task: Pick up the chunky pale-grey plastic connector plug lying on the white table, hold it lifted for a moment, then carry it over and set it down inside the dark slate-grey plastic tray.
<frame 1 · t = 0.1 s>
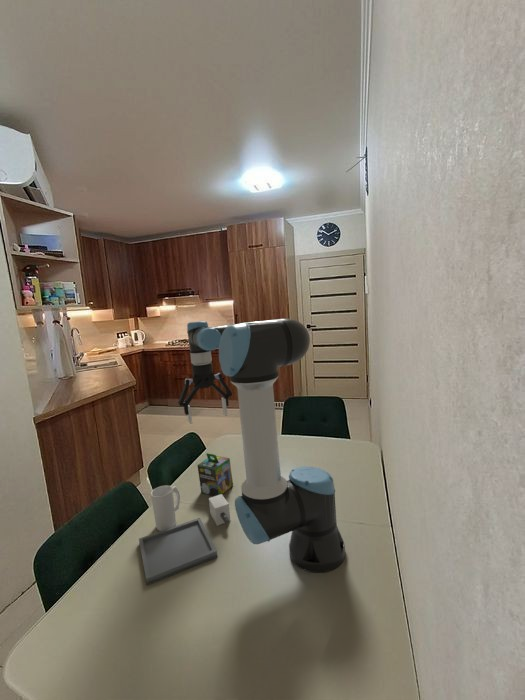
hand: (208, 418, 130), 28 cm above the table, fingers open, 13 cm apart
chalk box: (217, 489, 133), on the table
mug: (170, 522, 115), on the table
connector: (220, 517, 115), on the table
tray: (176, 550, 101), on the table
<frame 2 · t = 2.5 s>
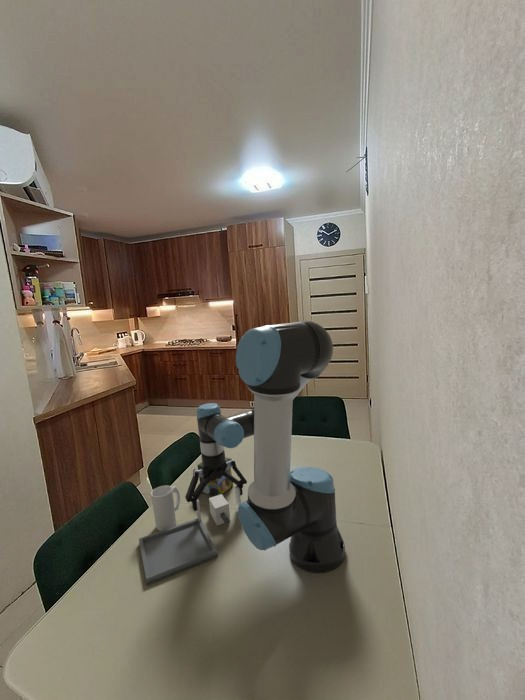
hand: (219, 511, 115), 2 cm above the table, fingers open, 13 cm apart
nothing on the table moved.
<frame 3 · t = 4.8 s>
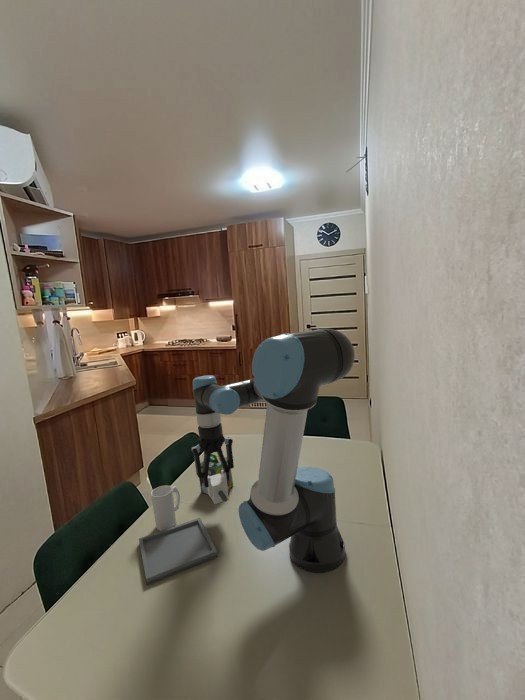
hand: (218, 492, 113), 9 cm above the table, fingers closed on connector, 5 cm apart
connector: (218, 496, 114), point 7 cm above the table, touching gripper
everything else where it was.
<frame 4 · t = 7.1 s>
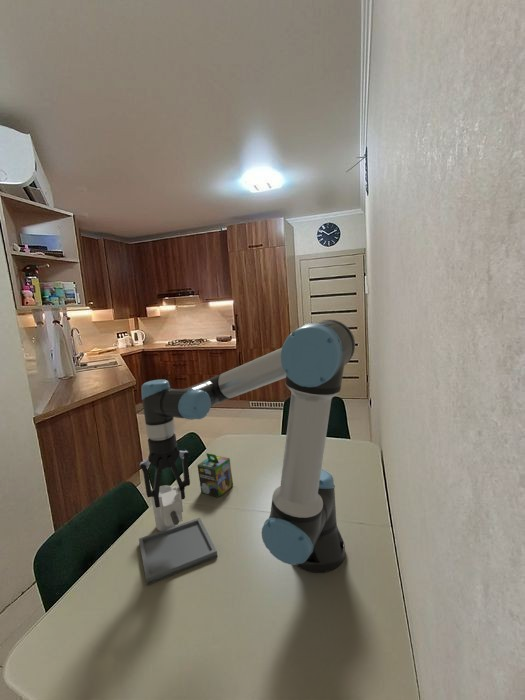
hand: (171, 512, 99), 12 cm above the table, fingers closed on connector, 5 cm apart
connector: (172, 516, 100), point 10 cm above the table, touching gripper
everything else where it was.
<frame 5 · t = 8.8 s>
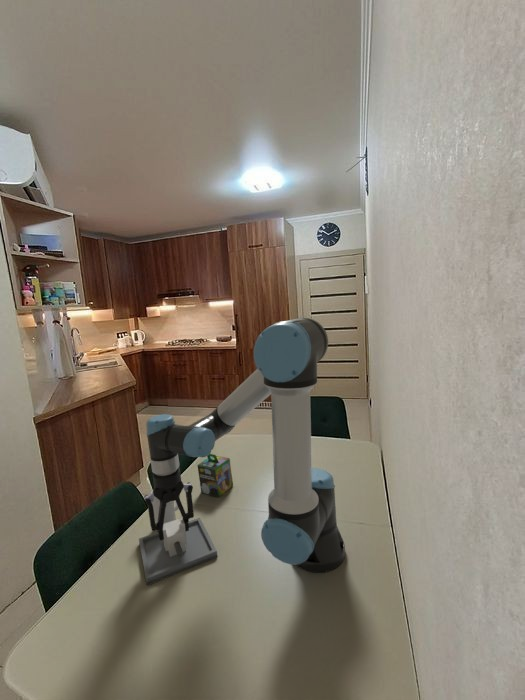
hand: (175, 544, 101), 2 cm above the table, fingers closed on connector, 5 cm apart
connector: (175, 546, 101), point 1 cm above the table, touching gripper, tray
everything else where it was.
when the fingers open (1 cm above the table, at t = 9.6 s): connector stays where it is, resting on tray.
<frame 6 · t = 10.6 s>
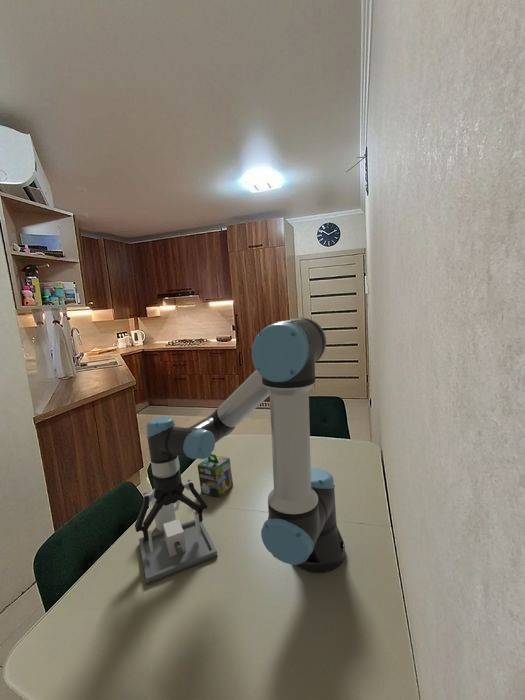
hand: (175, 540, 101), 3 cm above the table, fingers open, 13 cm apart
connector: (175, 546, 101), point 1 cm above the table, touching tray
everything else where it was.
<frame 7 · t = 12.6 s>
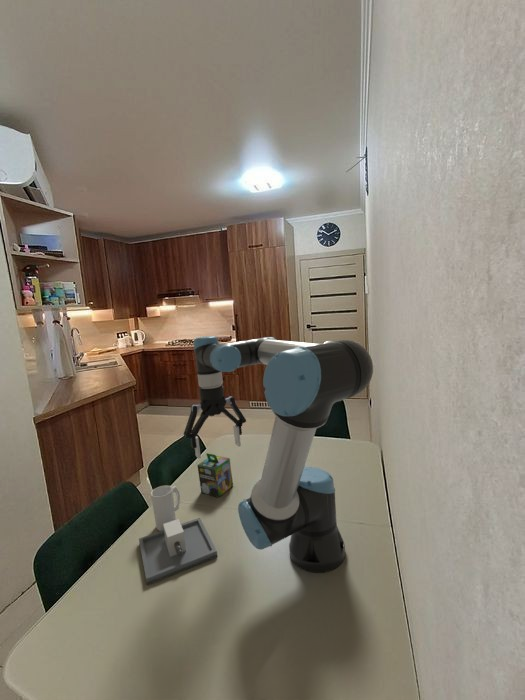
hand: (218, 450, 110), 24 cm above the table, fingers open, 13 cm apart
nothing on the table moved.
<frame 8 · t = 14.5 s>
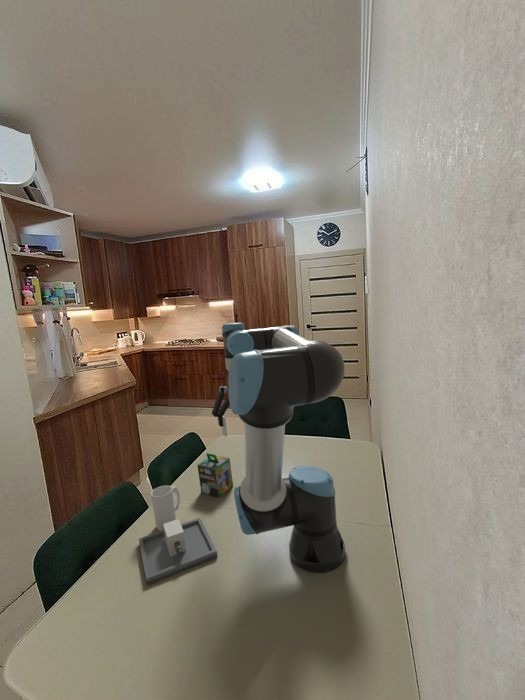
hand: (243, 430, 118), 27 cm above the table, fingers open, 13 cm apart
nothing on the table moved.
at the end: connector inside the target area on the tray (0.6 cm from its centre), point 0.8 cm above the tray's base; connector tilted 0°; the gripper is holding nothing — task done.
